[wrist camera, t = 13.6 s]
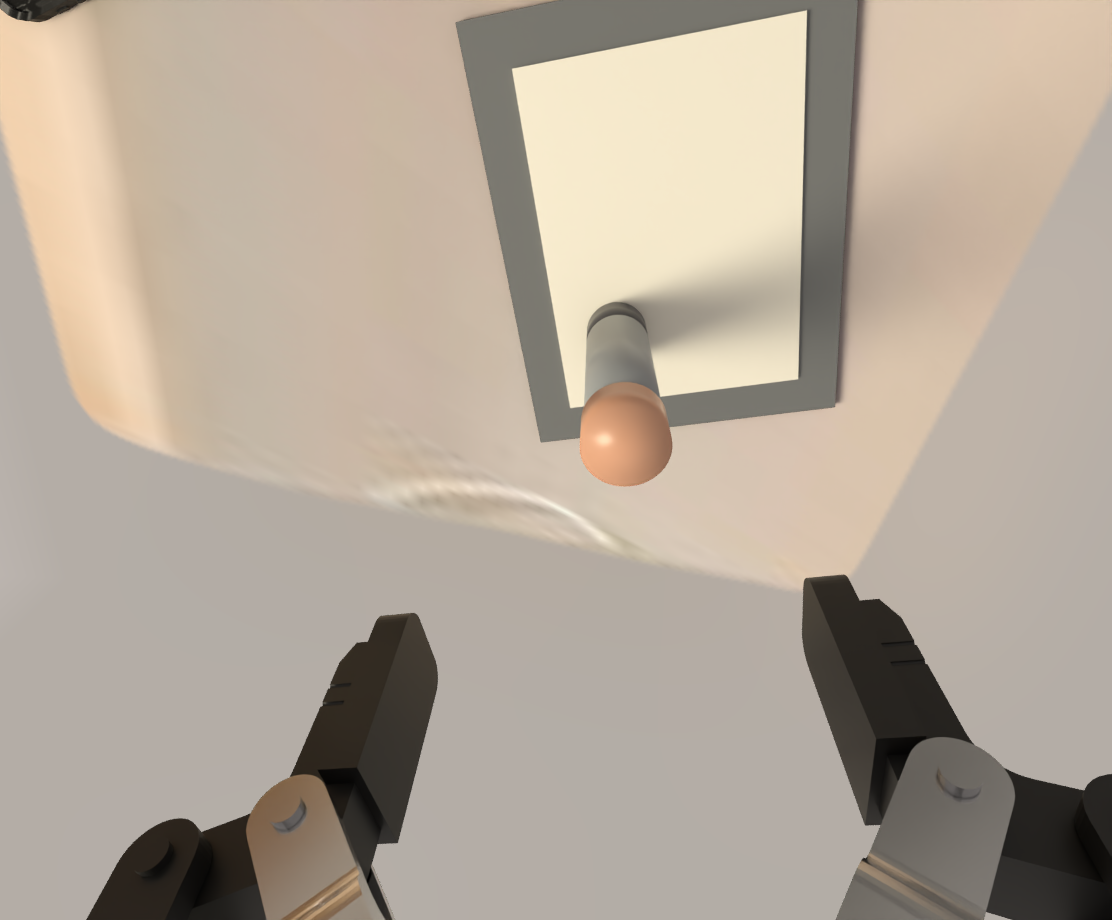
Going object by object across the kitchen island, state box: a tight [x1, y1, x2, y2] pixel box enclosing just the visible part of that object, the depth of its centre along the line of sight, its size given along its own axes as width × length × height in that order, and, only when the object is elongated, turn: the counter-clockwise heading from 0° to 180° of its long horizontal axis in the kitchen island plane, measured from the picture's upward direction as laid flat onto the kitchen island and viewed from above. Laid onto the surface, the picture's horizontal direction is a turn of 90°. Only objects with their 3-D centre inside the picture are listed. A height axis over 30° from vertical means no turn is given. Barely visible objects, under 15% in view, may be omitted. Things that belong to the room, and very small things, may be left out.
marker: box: [580, 302, 672, 486], centre depth 28 cm, size 3×3×12 cm
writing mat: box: [456, 0, 858, 442], centre depth 31 cm, size 20×16×1 cm
